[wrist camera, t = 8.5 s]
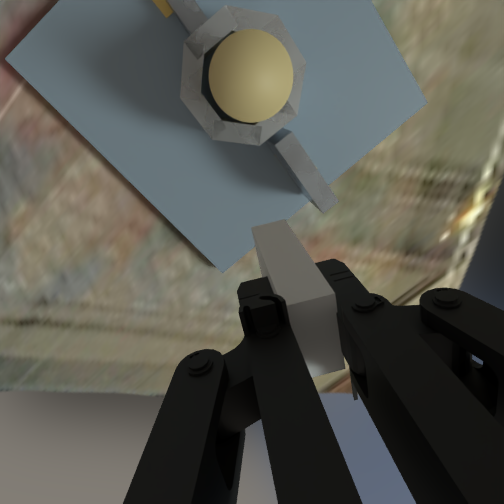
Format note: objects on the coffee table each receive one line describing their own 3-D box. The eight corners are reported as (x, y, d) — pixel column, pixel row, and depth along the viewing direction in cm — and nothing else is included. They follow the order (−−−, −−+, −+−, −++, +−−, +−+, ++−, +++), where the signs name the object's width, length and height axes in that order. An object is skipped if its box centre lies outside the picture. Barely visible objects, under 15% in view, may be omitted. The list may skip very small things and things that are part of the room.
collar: (131, 31, 25) (117, 17, 21) (217, -46, 24) (221, -78, 20) (275, 218, 32) (289, 238, 27) (347, 163, 31) (374, 174, 26)
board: (251, -195, 23) (289, -392, 14) (419, 102, 31) (514, 105, 22) (12, 60, 26) (-89, 41, 17) (221, 267, 35) (231, 331, 25)
